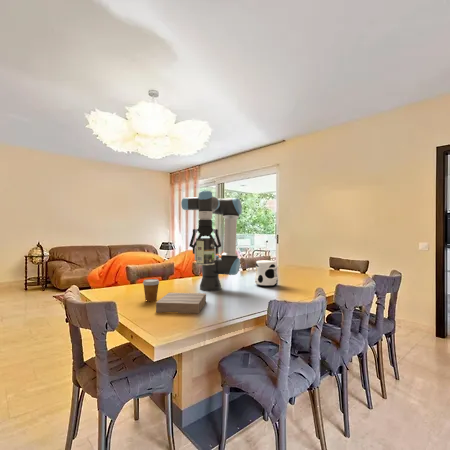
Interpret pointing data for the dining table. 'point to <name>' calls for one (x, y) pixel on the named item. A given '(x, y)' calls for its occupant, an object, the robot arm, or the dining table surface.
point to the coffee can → (205, 251)
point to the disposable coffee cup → (151, 289)
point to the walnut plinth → (181, 302)
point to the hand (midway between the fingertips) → (205, 259)
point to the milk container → (266, 273)
